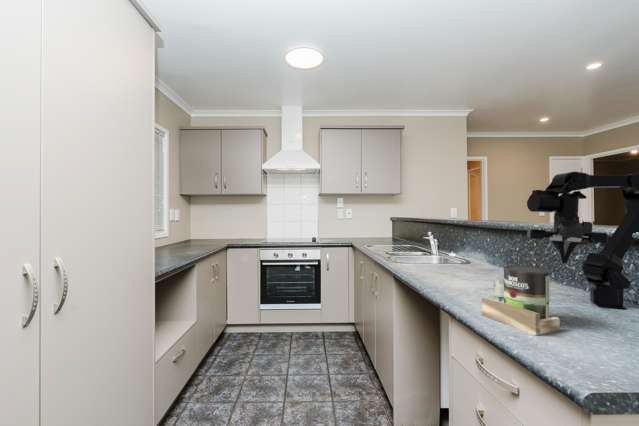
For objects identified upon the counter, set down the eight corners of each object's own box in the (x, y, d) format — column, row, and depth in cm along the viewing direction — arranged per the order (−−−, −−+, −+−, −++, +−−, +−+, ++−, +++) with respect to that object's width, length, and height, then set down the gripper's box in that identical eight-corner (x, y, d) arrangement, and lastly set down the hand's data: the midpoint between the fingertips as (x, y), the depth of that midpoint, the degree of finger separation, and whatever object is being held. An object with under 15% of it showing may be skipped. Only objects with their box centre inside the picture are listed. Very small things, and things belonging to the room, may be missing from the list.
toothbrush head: (507, 278, 114) (512, 282, 92) (508, 296, 113) (512, 304, 91) (492, 277, 116) (492, 281, 95) (492, 294, 115) (492, 302, 94)
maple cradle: (503, 311, 87) (503, 294, 87) (559, 330, 73) (559, 310, 73) (481, 315, 84) (481, 297, 84) (535, 335, 70) (535, 314, 70)
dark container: (532, 330, 73) (531, 273, 73) (495, 316, 83) (494, 266, 83) (560, 324, 76) (559, 270, 76) (521, 312, 86) (520, 264, 86)
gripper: (534, 211, 89) (532, 263, 89) (618, 213, 80) (616, 271, 80) (527, 212, 99) (525, 258, 99) (601, 214, 90) (599, 265, 90)
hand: (563, 263), depth 92 cm, fingers closed
